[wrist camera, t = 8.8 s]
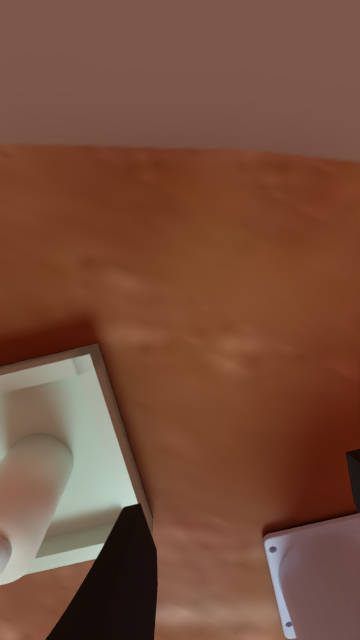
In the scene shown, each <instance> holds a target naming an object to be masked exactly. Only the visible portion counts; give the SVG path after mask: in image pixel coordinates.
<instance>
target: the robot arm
mask: <svg viewBox="0 0 360 640" xmlns="http://www.w3.org/2000/svg"><path fill="white" fill-rule="evenodd" d="M346 457H347V463H348V469H349V475H350V481H351V487H352V493H353V499H354V503H355V505H356V507H357V508H358V510H359V512H360V449H358V450H354V451H350V452H346ZM263 543H264V547H265V552H266V556H267V561H268V565H269V570H270V574H271V579H272V583H273V587H274V592H275V596H276V601H277V605H278V610H279V614H280V619H281V623H282V628H283V632H284V635H285V637H286V638H288V639H293V638H297V640H360V513H358V514H353V515H349V516H345V517H340V518H336V519H331V520H327V521H322V522H318V523H314V524H309V525H305V526H300V527H296V528H291V529H287V530H282V531H278V532H274V533H269V534H267V535H265V536H264V538H263ZM157 586H158V582H157V550H156V547H155V544H154V541H153V538H152V535H151V532H150V529H149V526H148V523H147V520H146V517H145V514H144V512H143V509H142V506H141V503H138V504H134V505H130V506H126V507H123V509H122V510H121V512H120V514H119V516H118V518H117V520H116V522H115V524H114V526H113V528H112V530H111V532H110V534H109V536H108V538H107V540H106V542H105V543H104V545H103V547H102V549H101V551H100V553H99V555H98V556H97V558H96V560H95V562H94V564H93V566H92V567H91V569H90V571H89V573H88V574H87V576H86V578H85V579H84V581H83V583H82V584H81V586H80V588H79V589H78V591H77V593H76V594H75V596H74V598H73V599H72V601H71V603H70V604H69V606H68V607H67V609H66V610H65V612H64V613H63V615H62V616H61V618H60V619H59V621H58V622H57V624H56V625H55V627H54V628H53V630H52V631H51V633H50V634H49V635H48V637H47V638H46V640H154V630H155V616H156V602H157Z"/></svg>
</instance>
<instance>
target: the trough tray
mask: <svg viewBox="0 0 360 640" xmlns="http://www.w3.org/2000/svg"><path fill="white" fill-rule="evenodd" d="M36 433H42V434H48V435H52V436H54V437H56V438H58V439H60V440H61V441H62V442H64V443H65V444H66V445H67V447H68V448H69V449H70V451H71V453H72V456H73V460H74V467H73V471H72V474H71V476H70V478H69V481H68V483H67V485H66V488H65V490H64V492H63V494H62V497H61V499H60V501H59V504H58V506H57V508H56V511H55V513H54V515H53V518H52V520H51V522H50V524H49V527H48V529H47V531H46V534H45V536H44V538H43V541H42V543H41V545H40V548H39V550H38V552H37V554H36V557H35V559H34V561H33V564H32V565H31V567H30V569H29V570H28V571H27V572H26V573H25V574H24V575H26V574H30V573H34V572H39V571H43V570H48V569H52V568H56V567H61V566H65V565H70V564H74V563H79V562H83V561H87V560H92V559H96V558H97V556H98V555H99V553H100V551H101V549H102V547H103V545H104V543H105V542H106V540H107V538H108V536H109V534H110V532H111V530H112V528H113V526H114V524H115V522H116V520H117V518H118V516H119V514H120V512H121V510H122V509H123V507H126V506H130V505H134V504H138V503H141V506H142V509H143V512H144V514H145V517H146V520H147V523H148V526H149V529H150V532H151V535H152V530H153V518H152V514H151V511H150V508H149V505H148V502H147V498H146V495H145V492H144V489H143V486H142V482H141V479H140V476H139V473H138V470H137V466H136V463H135V460H134V457H133V454H132V451H131V447H130V444H129V441H128V438H127V435H126V431H125V428H124V425H123V422H122V419H121V415H120V412H119V409H118V406H117V403H116V399H115V396H114V393H113V390H112V387H111V383H110V380H109V377H108V374H107V371H106V367H105V364H104V361H103V358H102V355H101V352H100V348H99V345H98V343H96V344H92V345H88V346H84V347H80V348H76V349H72V350H67V351H63V352H59V353H55V354H51V355H47V356H43V357H39V358H34V359H30V360H26V361H22V362H18V363H14V364H10V365H5V366H1V367H0V462H1V460H2V459H3V458H4V457H5V455H6V454H7V453H8V452H9V450H10V449H11V448H12V447H13V445H14V444H15V443H16V442H17V441H18V440H19V439H21V438H22V437H25V436H27V435H30V434H36Z"/></svg>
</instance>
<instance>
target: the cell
mask: <svg viewBox="0 0 360 640" xmlns="http://www.w3.org/2000/svg"><path fill="white" fill-rule="evenodd" d="M73 467H74V460H73V456H72V453H71V451H70V449H69V448H68V447H67V445H66V444H65V443H64V442H62V441H61V440H60V439H58V438H56V437H54V436H52V435H48V434H42V433H36V434H30V435H27V436H25V437H22V438H21V439H19V440H18V441H17V442H16V443H15V444H14V445H13V447H12V448H11V449H10V450H9V452H8V453H7V454H6V455H5V457H4V458H3V459H2V460H1V462H0V585H2V584H7V583H10V582H13V581H15V580H17V579H19V578H20V577H22V576H23V575H24V574H25V573H26V572H27V571H28V570H29V569H30V567H31V565H32V564H33V561H34V559H35V557H36V554H37V552H38V550H39V548H40V545H41V543H42V541H43V538H44V536H45V534H46V531H47V529H48V527H49V524H50V522H51V520H52V518H53V515H54V513H55V511H56V508H57V506H58V504H59V501H60V499H61V497H62V494H63V492H64V490H65V488H66V485H67V483H68V481H69V478H70V476H71V474H72V471H73Z"/></svg>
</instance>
